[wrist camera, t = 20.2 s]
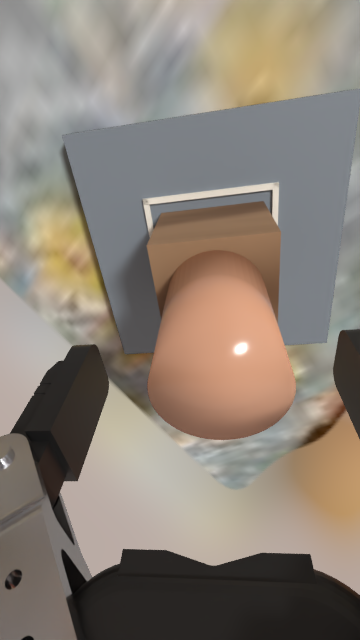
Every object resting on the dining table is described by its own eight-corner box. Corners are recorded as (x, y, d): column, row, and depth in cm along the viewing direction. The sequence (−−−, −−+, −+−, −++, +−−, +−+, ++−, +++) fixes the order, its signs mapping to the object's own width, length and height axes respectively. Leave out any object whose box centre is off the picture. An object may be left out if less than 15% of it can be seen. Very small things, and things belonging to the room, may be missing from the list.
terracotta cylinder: (160, 255, 14) (133, 339, 9) (266, 245, 13) (301, 327, 8) (175, 338, 16) (160, 441, 11) (265, 332, 16) (291, 438, 11)
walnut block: (161, 213, 18) (146, 245, 14) (263, 201, 17) (280, 231, 13) (175, 299, 21) (166, 348, 17) (263, 292, 20) (277, 341, 16)
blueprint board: (69, 133, 17) (60, 135, 16) (353, 89, 15) (363, 88, 14) (127, 345, 24) (124, 355, 24) (322, 333, 23) (327, 344, 22)
